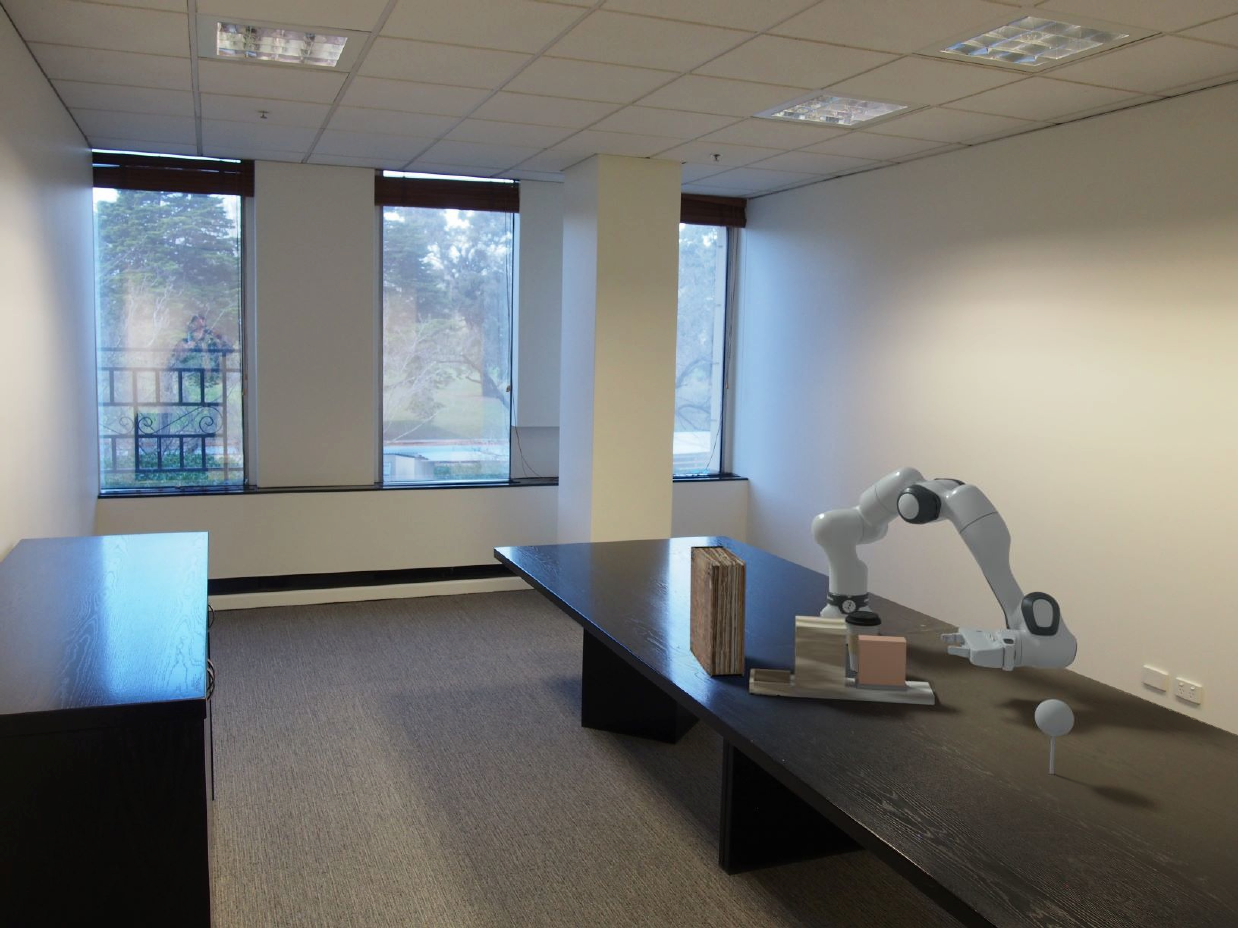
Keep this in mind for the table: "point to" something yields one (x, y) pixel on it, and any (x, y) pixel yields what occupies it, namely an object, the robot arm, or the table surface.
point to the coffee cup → (860, 631)
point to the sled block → (881, 663)
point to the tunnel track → (827, 669)
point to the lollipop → (1054, 722)
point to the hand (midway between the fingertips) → (944, 643)
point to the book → (717, 610)
